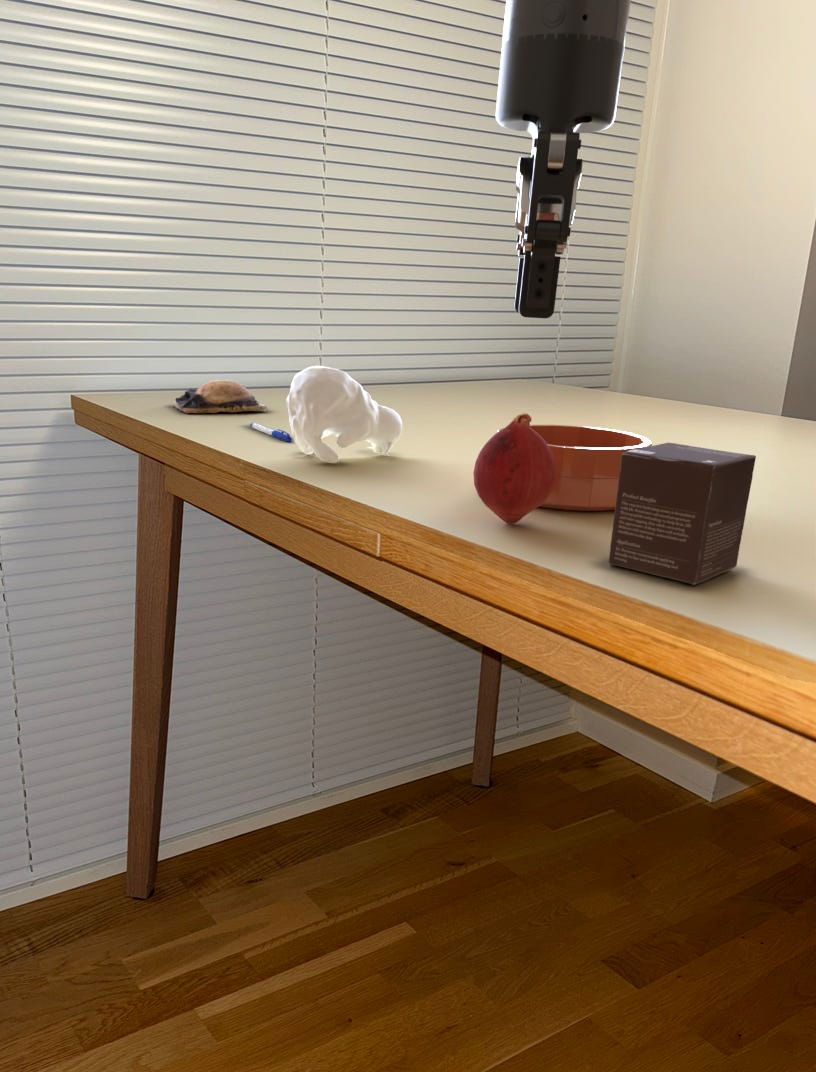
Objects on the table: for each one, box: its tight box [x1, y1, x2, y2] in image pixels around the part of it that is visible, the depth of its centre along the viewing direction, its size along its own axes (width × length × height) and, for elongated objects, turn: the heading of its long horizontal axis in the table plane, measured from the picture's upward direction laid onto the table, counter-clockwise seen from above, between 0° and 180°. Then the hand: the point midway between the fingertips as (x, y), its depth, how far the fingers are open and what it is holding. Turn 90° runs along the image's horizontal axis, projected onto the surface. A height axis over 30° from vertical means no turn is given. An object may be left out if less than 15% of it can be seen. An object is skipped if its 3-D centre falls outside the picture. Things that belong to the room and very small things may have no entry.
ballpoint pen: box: [249, 422, 293, 443], centre depth 105 cm, size 10×1×1 cm, turn 29°
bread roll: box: [173, 379, 268, 414], centre depth 122 cm, size 11×8×4 cm
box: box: [608, 442, 757, 586], centre depth 60 cm, size 6×6×7 cm
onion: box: [473, 412, 556, 525], centre depth 70 cm, size 6×6×8 cm
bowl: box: [497, 424, 653, 512], centre depth 80 cm, size 12×12×5 cm
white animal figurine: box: [285, 365, 404, 464], centre depth 93 cm, size 6×8×12 cm
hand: (532, 315), depth 66 cm, fingers open, 8 cm apart
